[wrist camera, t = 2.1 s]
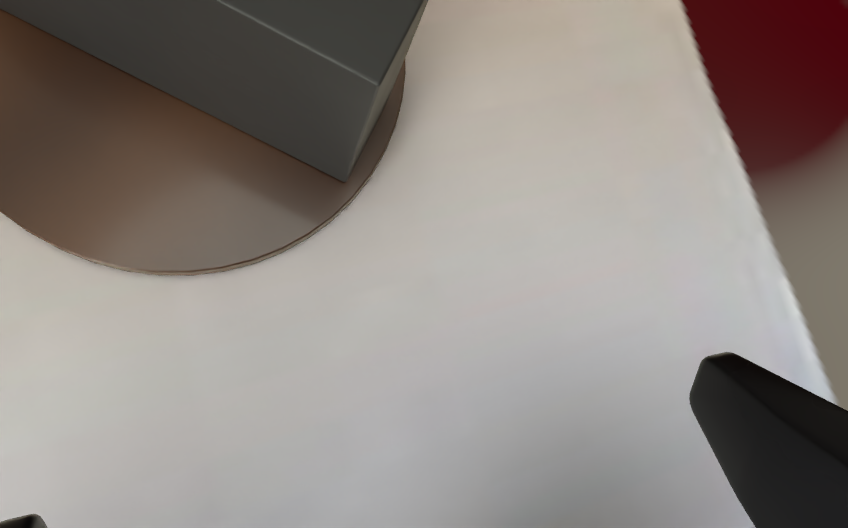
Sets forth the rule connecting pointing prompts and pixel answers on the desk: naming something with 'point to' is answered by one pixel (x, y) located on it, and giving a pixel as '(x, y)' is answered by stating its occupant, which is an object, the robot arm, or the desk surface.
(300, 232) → the shallow brown dish
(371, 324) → the desk surface
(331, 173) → the clock
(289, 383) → the desk surface
